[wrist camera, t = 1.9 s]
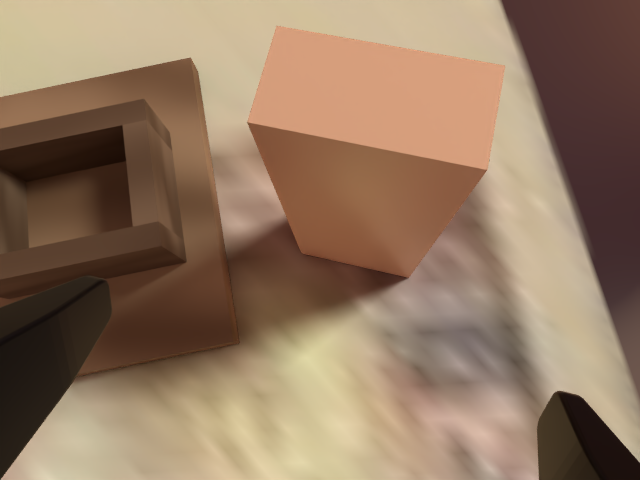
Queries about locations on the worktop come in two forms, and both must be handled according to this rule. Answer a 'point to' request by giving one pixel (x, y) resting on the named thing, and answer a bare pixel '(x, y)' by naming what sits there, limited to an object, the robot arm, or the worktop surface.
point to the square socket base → (118, 209)
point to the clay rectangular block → (371, 143)
